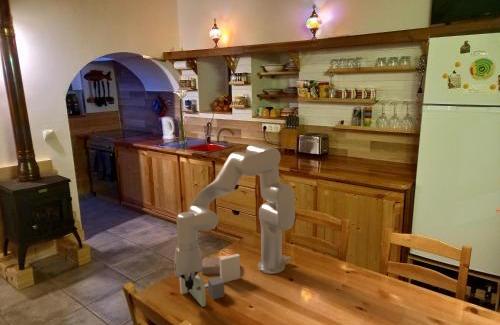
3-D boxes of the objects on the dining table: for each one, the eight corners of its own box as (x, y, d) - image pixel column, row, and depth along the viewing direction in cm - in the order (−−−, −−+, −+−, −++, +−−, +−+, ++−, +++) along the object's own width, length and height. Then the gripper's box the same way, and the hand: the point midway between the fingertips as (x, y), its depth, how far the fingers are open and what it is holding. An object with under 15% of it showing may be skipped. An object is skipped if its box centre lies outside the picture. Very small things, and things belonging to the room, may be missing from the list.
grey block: (219, 290, 152) (219, 276, 150) (224, 296, 147) (223, 282, 146) (208, 293, 150) (208, 279, 148) (212, 299, 145) (212, 285, 144)
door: (206, 305, 141) (205, 282, 138) (199, 307, 139) (198, 284, 137) (190, 287, 153) (189, 266, 150) (184, 289, 151) (182, 268, 149)
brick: (201, 275, 164) (201, 265, 163) (202, 265, 172) (202, 256, 171) (237, 273, 165) (237, 264, 164) (237, 264, 173) (237, 255, 172)
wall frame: (238, 275, 162) (237, 252, 160) (240, 278, 160) (239, 254, 158) (180, 291, 151) (178, 266, 149) (181, 294, 149) (180, 269, 146)
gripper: (203, 237, 144) (204, 279, 148) (165, 244, 138) (168, 287, 142) (209, 244, 137) (210, 288, 141) (170, 252, 131) (172, 297, 135)
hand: (189, 287), depth 141 cm, fingers closed
